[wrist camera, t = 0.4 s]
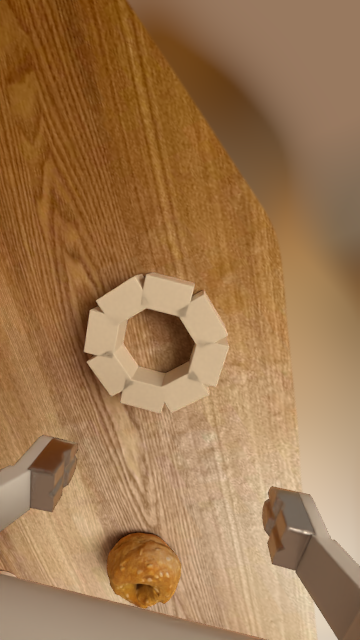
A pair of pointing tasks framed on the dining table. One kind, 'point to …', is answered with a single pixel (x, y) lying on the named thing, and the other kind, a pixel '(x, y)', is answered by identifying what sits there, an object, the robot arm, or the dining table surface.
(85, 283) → the dining table surface
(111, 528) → the dining table surface
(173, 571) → the bagel
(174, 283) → the ring
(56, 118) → the dining table surface
